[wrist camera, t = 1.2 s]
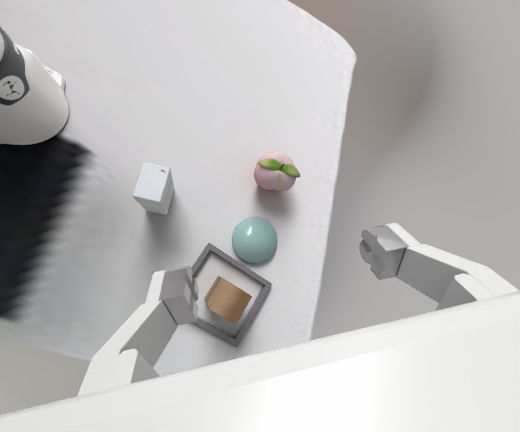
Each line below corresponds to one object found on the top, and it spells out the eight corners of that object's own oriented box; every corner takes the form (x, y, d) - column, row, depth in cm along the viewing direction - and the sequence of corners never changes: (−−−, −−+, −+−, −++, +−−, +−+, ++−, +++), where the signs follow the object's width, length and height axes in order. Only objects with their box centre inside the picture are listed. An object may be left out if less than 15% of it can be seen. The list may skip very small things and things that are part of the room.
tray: (166, 304, 44) (165, 306, 43) (208, 243, 49) (208, 242, 48) (235, 345, 47) (236, 347, 46) (269, 283, 51) (271, 283, 50)
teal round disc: (223, 246, 50) (223, 246, 49) (247, 209, 53) (248, 208, 52) (261, 271, 51) (262, 272, 50) (283, 233, 54) (284, 233, 53)
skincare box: (153, 183, 48) (142, 159, 36) (174, 188, 49) (171, 167, 37) (144, 211, 46) (131, 196, 35) (167, 216, 47) (161, 203, 36)
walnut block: (204, 298, 47) (209, 309, 36) (218, 276, 48) (226, 280, 38) (225, 310, 47) (235, 325, 37) (238, 288, 49) (252, 296, 39)
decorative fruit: (285, 165, 57) (305, 147, 48) (285, 197, 56) (305, 185, 47) (249, 159, 55) (261, 139, 45) (247, 193, 53) (260, 179, 44)
